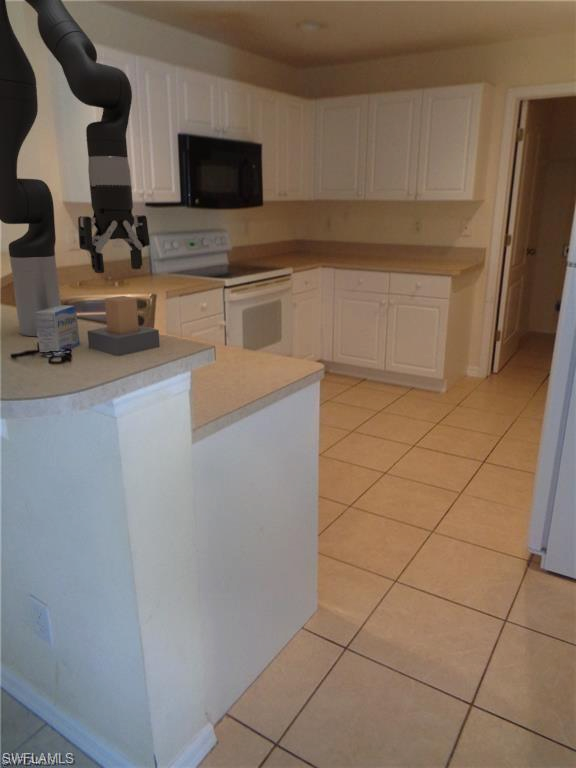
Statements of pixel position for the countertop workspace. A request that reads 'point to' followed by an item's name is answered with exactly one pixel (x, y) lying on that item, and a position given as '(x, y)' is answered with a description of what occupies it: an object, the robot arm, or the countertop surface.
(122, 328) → the plug
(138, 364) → the countertop surface
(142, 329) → the gray square socket block
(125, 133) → the robot arm
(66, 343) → the medicine box
